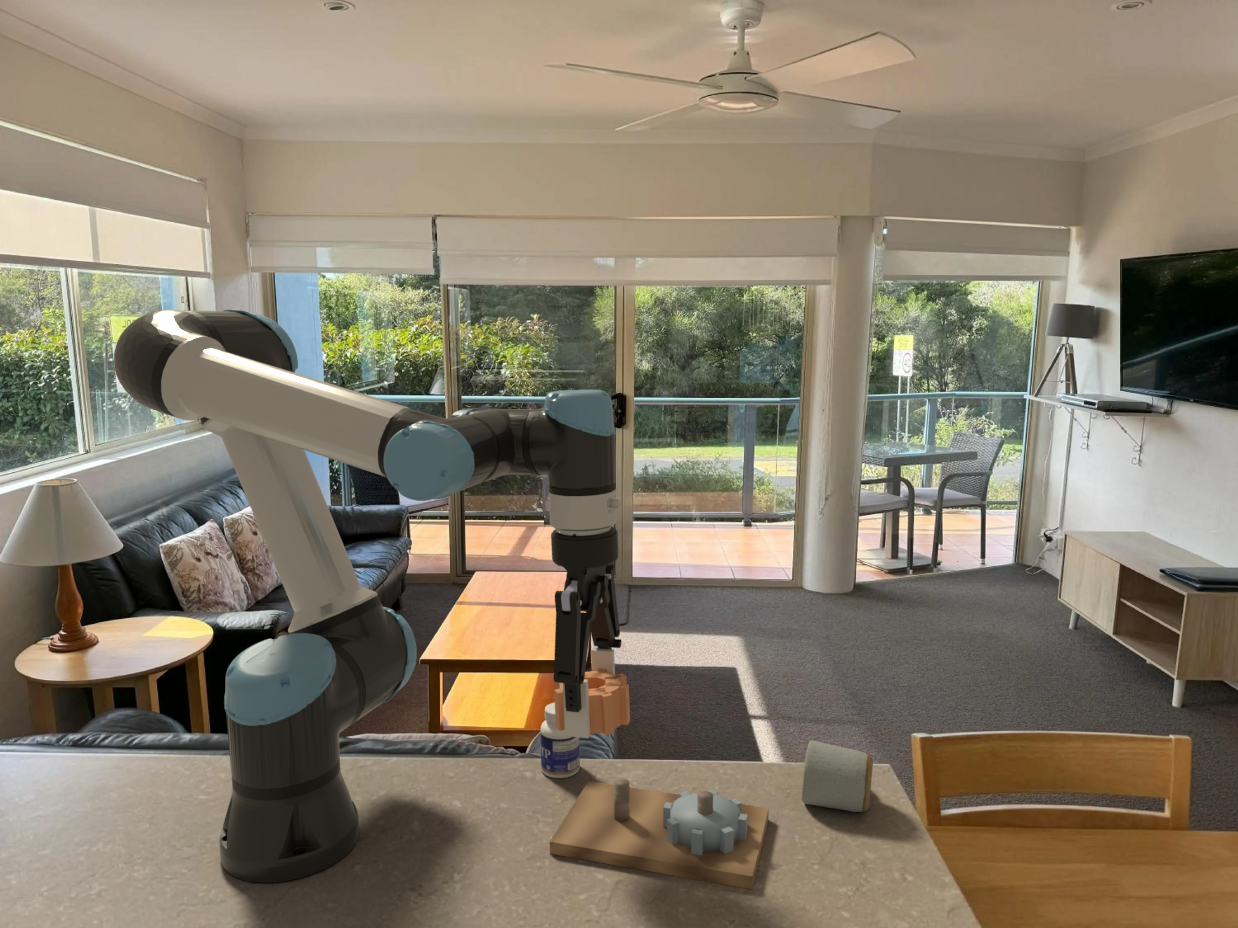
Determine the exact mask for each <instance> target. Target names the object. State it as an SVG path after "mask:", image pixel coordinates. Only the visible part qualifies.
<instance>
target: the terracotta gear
mask: <svg viewBox="0 0 1238 928" xmlns="http://www.w3.org/2000/svg"><path fill="white" fill-rule="evenodd" d="M627 678H628V677H627V676H626V675H625V674H623V673H619V674H616V673H615V674H612V673H608V672H607V669H598V670H597V671H592V670H590V671H585V679H587V680H588V692H589V717H590V735H594V734H604V736H608V735H611V734H615V729H617V728H619V727H621V726H629V725H630V722H631V705H630V685H629V683H628V681H627ZM553 696H554V698H553V699H554V703H555V717H556V728H557V729H559V730H560V731H561V730H565V723H564V700H563V683H556V682H554V681H553Z"/></svg>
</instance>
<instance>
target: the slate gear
mask: <svg viewBox="0 0 1238 928" xmlns="http://www.w3.org/2000/svg"><path fill="white" fill-rule="evenodd" d="M706 791H709V792H711V793H712V794H713V813H712V814H710V815H701V814H699V813H698V812H697V794H698V793H699V792H695V793H691V792H689V791H688V790H684V791H682V792H678V793H677V794H678V799H677V800H676V801H674V802H673V803H668V802H666V803H665V805H664V807H663V827H664V828H667V841H668V842H669V843H671V844H672V845H675V844H678V843H679V844H681V845H683V846H685V847H687V848H690V849H691V854H696V855H702V854H703V851H718V850H721V851H722V852H723V853H724V854H726V853H729V852H732V851H734V844H735V843H736V841H737V840H738V839H739V840H746V837H747V815H746V814H742V804H743V803H742V801H740V800H739V799H738V798H732V799H729V798H728V797H725V796H722V795H720V794H718V790H713V789H707V790H706Z"/></svg>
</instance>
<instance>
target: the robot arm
mask: <svg viewBox="0 0 1238 928" xmlns="http://www.w3.org/2000/svg"><path fill="white" fill-rule="evenodd" d="M113 365H114V371H115V374H116V376H117V379H118V382H119V384H120V385H121V387H122V388H123V390H124V391H125V392H126V393H127V394H128V395H129V396H130V397H131V398H132V399H133V400H134V401H136V402H138V403H139V404H140V405H142V406H144V407H146V408H148V409H151V410H154V411H156V412H159V413H161V414H164V415H167V416H169V417H170V416H171V417H174V418H177V419H180V420H183V421H186V422H187V421H189V422H191V421H197V420H200V423H201V425H202V428H203V429H204V430H205V431H207V432H209V433H212V434H214V435H217V436H218V437H220V438H221V439H222V442H223V444H224V447H225V449H226V451H227V454H228V456H229V458H230V461H231V463H232V466H233V468H234V471H235V473H236V476H237V478H238V480H239V483H240V485H241V487H242V490H243V493H244V494H245V497H246V499H247V502H248V505H249V506H250V509H251V511H252V513H253V516H254V519H255V521H256V524H257V526H258V528H259V531H260V533H261V535H262V538H263V541H264V543H265V546H266V548H267V549H268V553H269V554H270V557H271V559H272V561H273V564H274V567H275V569H276V571H277V574H278V576H279V579H280V581H281V584H282V586H283V588H284V591H285V593H286V596H287V597H288V600H289V603H290V605H291V608H292V609H293V612H294V613H293V617H292V619H291V623H290V624H289V626H288V629H287V631H288V634H283V635H279V636H278V637H277V638H274V639H272V638H267V639H264V640H261V641H259V642H257V643H254V644H253V645H251V646H249V647H247V648H246V649H244V650H243V651H241V652H240V653H239V654H238V655H237V656H235V658H234V659H232V661H231V663H230V664H229V665H228V667H227V669H226V670H227V671H226V673H225V684H224V685H225V692H224V697H223V698H224V700H223V706H224V710H225V716H226V729H227V739H228V740H227V741H228V750H229V752H228V753H229V761H230V762H229V763H230V774H231V787H232V788H231V789H232V791H231V795H230V800H229V803H228V806H227V809H226V810H227V811H226V813H225V816H224V817H225V818H224V820H223V821H224V822H223V824H222V828H221V832H220V835H219V841H218V842H219V856H220V857H219V859H220V863H221V866H222V867H223V869H224V870H225V871H226V872H227V873H228V875H229V874H230V876H233V877H235V878H237V879H240V880H242V881H243V880H244V881H246V882H252V883H255V882H256V883H279V882H287V881H292V880H296V879H297V880H298V879H301V878H303V877H307V876H308V877H309V876H310V875H314V874H317V873H318V872H320V871H321V872H322V871H323V870H326V869H328V868H329V867H331V866H332V865H334V864H336V863H337V862H339V861H341V860H342V859H343V858H344V857H345V856H347V855H348V854H349V853H350V852H351V851H352V850H353V849H354V847H355V845H356V844H357V842H358V839H359V837H360V819H359V817H360V816H359V812H358V808H357V806H356V805H355V803H354V801H353V800H352V797H351V795H350V792H349V790H348V787H347V784H346V782H345V779H344V777H343V774H342V771H341V770H342V769H341V758H340V757H341V755H340V738H339V736H340V733H341V732H343V731H344V730H346V729H348V727H350V726H352V725H353V724H354V723H356V722H357V721H359V720H360V719H361V718H363V717H364V716H366V715H367V714H369V713H370V712H371V711H373V710H374V709H376V708H377V707H380V706H381V705H384V704H386V703H387V702H389V701H390V700H391V699H392V698H393V697H395V695H396V694H397V693H398V691H400V690H401V689H402V688H403V687H404V686H406V684H407V683H408V682H409V680H410V678H411V676H412V674H413V672H414V670H415V667H416V663H417V662H416V661H417V656H418V654H417V642H416V638H415V635H414V632H413V629H412V627H411V626H410V624H409V623H408V622H407V620H406V619H405V618H404V617H403V616H402V614H397V613H396V612H395V610H394V609H392V608H389V607H385V606H383V604H382V602H381V600H380V598H379V594H378V592H376V591H375V590H372V589H369V588H367V587H364V586H363V585H362V584H361V583H360V581H359V578H358V577H357V574H356V572H355V569H354V567H353V564H352V561H351V559H350V557H349V555H348V552H347V550H346V548H345V546H344V545H345V544H344V543H343V540H342V538H341V536H340V533H339V531H338V528H337V526H336V524H335V521H334V518H333V515H332V514H331V512H330V508H329V506H328V504H327V501H326V500H325V496H324V495H323V492H322V490H321V487H320V484H319V482H318V480H317V477H316V475H315V473H314V470H313V468H312V465H311V462H310V461H309V458H308V456H307V453H306V452H309V453H312V454H316V455H319V456H321V457H325V458H327V459H330V460H334V461H336V462H339V463H343V464H346V465H349V466H352V467H354V468H357V469H361V470H364V471H367V472H370V473H373V474H376V475H379V476H381V477H385V478H387V481H388V482H389V484H390V485H391V486H392V487H394V489H395V490H396V491H397V492H398V493H399V494H400V495H401V496H402V497H404V498H407V499H408V500H412V501H415V502H416V501H417V502H426V501H428V502H429V501H431V500H440V499H441V500H442V499H446V498H448V497H451V496H453V495H455V494H457V493H458V492H461V491H463V490H466V489H468V488H471V487H474V486H476V485H479V484H482V483H485V482H488V481H490V480H494V479H497V478H499V477H501V476H513V475H514V476H515V475H516V476H517V475H518V476H519V475H520V476H521V475H523V476H525V475H526V476H527V475H529V476H532V475H533V476H543V475H545V476H547V478H548V479H547V480H548V501H549V504H548V505H549V524H550V526H551V527H552V528H553V531H552V532H551V534H550V541H551V543H550V544H551V559H552V562H553V563H554V564H555V565H557V566H558V567H562V568H563V569H565V570H566V575H565V576H566V579H565V581H564V586H563V590H556V591H555V593H554V606H555V629H554V630H555V634H554V636H555V637H554V659H553V661H554V662H553V663H554V665H553V683H554V682H556V683H563V700H564V723H565V736H571V737H579V739H580V738H582V739H589V737H591V734H590V717H589V692H588V680H587V679H585V672H586V666H587V658H588V649H589V640H590V634H591V639H592V644H593V646H594V647H592V648H591V649H590V660H591V661H590V663H591V664H590V666H591V671H597V670H598V669H607V672H608V673H612V674H616V667H615V663H616V661H615V649H621V646H622V639H619V637H620V634H621V629H620V623H619V622H620V621H619V613H618V604H617V595H616V594H617V593H616V585H615V562H616V561H617V560H618V558H619V537H618V536H619V535H618V531H619V530H617V529H616V527H614V526H615V524H617V522H618V519H617V517H618V516H617V509H618V508H620V507H621V501H620V499H618V498H617V496H616V495H617V488H616V483H617V482H616V438H615V437H616V428H615V422H614V421H615V420H614V411H613V403H612V397H611V395H610V394H608V393H607V392H606V391H604V390H601V389H568V390H567V389H565V390H554V391H550V392H548V393H547V394H546V395H545V399H544V405H543V407H542V408H535V409H534V408H533V409H531V408H530V409H529V408H528V409H527V408H525V409H524V408H523V409H521V408H518V409H516V408H514V409H513V408H487V407H478V408H471V409H470V408H469V409H459V410H456V411H455V412H453V413H452V414H451V415H450V417H447V418H445V417H440V416H437V415H433V414H430V413H426V412H423V411H420V410H416V409H413V408H412V409H411V408H410V407H407V406H404V405H401V404H398V403H394V402H392V401H388V400H385V399H382V398H379V397H375V396H372V395H368V394H365V393H362V392H358V391H355V390H351V389H348V388H345V387H342V386H339V385H336V384H333V383H329V382H325V381H323V380H320V379H317V378H316V379H315V378H313V377H310V376H306V375H304V374H300V373H296V370H297V369H298V368H299V358H298V354H297V350H296V347H295V345H294V343H293V340H292V339H291V337H290V336H289V334H288V333H287V331H286V330H285V329H284V328H283V327H282V326H281V325H280V324H279V323H277V322H276V321H275V320H274V319H271V318H270V317H267V316H266V315H263V314H260V313H257V312H249V311H245V310H240V309H225V310H181V309H163V310H156V311H153V312H148V313H145V314H144V315H142V316H140V317H138V318H136V319H135V320H134V321H132V322H131V323H130V324H128V325H127V326H126V328H125V329H124V330H123V331H122V332H121V334H120V335H119V338H118V339H117V341H116V344H115V348H114V353H113ZM596 647H597V648H596ZM613 648H614V649H613Z"/></svg>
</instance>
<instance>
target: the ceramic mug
mask: <svg viewBox="0 0 1238 928" xmlns="http://www.w3.org/2000/svg"><path fill="white" fill-rule="evenodd" d="M873 768H874V759H873V757H872V755H870V754H868V753H867V752H866V753H865V752H863V751H860V750H858V749H857V750H856V749H852V748H847V747H843V746H839V745H833V744H829V743H826V742H821V741H817V740H813V739H812V740H809V742H808V744H807V749H806V753H805V760H804V767H803V776H802V785H801V786H802V788H801V789H802V790H801V802H802V803H803V804H804V805H810V806H817V807H821V808H822V807H823V808H829V809H835V810H841V811H842V810H843V811H847V812H853V813H864V812H866V811H867V810H869V806H870V800H871V799H870V797H871V789H872V778H873Z"/></svg>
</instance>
